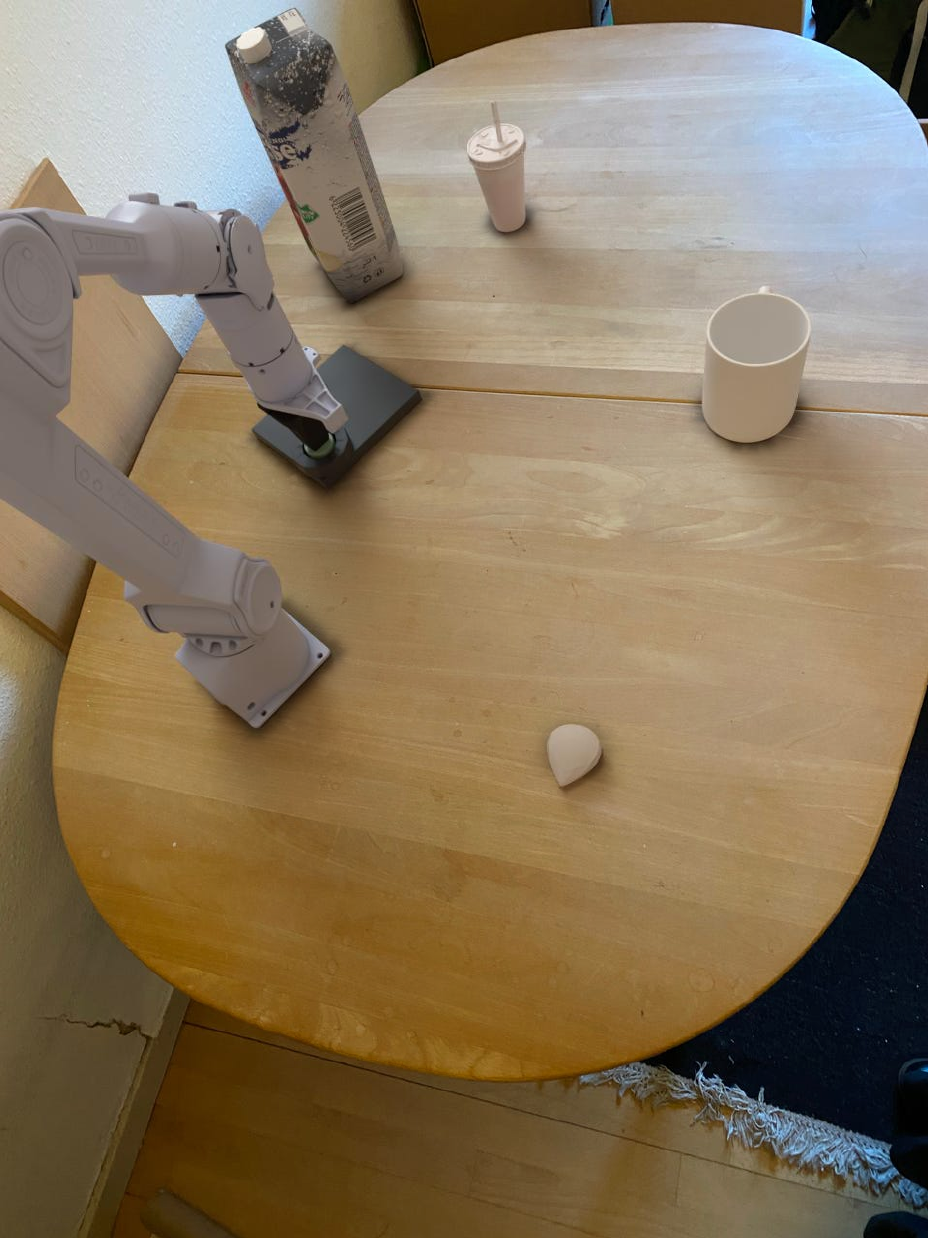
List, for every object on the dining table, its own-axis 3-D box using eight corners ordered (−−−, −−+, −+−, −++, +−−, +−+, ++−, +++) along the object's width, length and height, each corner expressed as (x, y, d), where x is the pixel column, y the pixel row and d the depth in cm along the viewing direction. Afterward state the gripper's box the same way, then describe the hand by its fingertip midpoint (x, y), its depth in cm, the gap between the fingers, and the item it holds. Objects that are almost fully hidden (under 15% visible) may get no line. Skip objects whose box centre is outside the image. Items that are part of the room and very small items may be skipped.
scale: (327, 495, 84) (316, 477, 81) (253, 440, 89) (241, 421, 87) (425, 400, 87) (418, 380, 84) (347, 353, 92) (338, 332, 90)
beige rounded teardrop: (608, 740, 66) (606, 729, 64) (589, 799, 65) (586, 790, 62) (557, 724, 68) (554, 713, 66) (537, 781, 66) (532, 772, 64)
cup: (694, 441, 77) (699, 363, 69) (713, 344, 82) (720, 259, 73) (789, 449, 75) (806, 369, 66) (803, 348, 80) (821, 261, 71)
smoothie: (532, 239, 94) (513, 119, 82) (477, 241, 96) (451, 124, 84) (541, 200, 97) (523, 78, 85) (487, 203, 99) (463, 84, 86)
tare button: (322, 468, 83) (317, 459, 82) (303, 455, 84) (298, 445, 83) (343, 448, 84) (338, 438, 82) (324, 435, 85) (319, 425, 84)
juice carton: (377, 230, 101) (291, -19, 77) (414, 276, 96) (335, 25, 72) (312, 265, 100) (207, 25, 77) (347, 314, 95) (245, 73, 72)
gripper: (349, 344, 69) (395, 447, 80) (244, 281, 75) (301, 385, 87) (288, 400, 67) (344, 497, 79) (186, 331, 74) (252, 430, 85)
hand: (318, 442), depth 83 cm, fingers closed, pressing on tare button
